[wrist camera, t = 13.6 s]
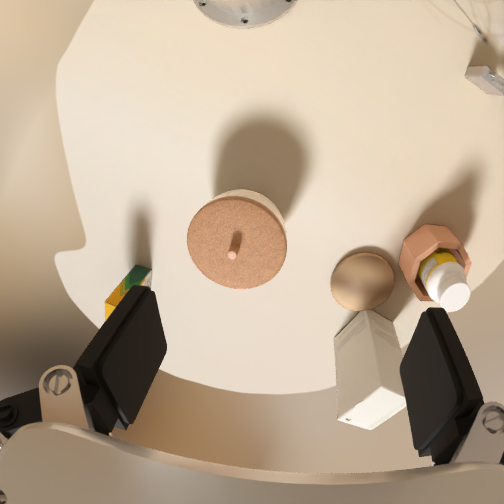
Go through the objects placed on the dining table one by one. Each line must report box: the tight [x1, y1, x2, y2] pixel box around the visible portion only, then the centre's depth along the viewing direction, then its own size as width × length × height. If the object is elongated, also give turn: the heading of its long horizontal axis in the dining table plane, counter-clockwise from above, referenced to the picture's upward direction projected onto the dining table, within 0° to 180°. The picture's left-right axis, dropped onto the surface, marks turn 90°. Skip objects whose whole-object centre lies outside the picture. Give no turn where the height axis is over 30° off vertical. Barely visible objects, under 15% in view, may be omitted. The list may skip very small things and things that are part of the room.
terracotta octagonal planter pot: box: [399, 224, 471, 301], centre depth 35 cm, size 9×9×5 cm
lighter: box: [465, 66, 504, 96], centre depth 22 cm, size 7×2×8 cm, turn 71°
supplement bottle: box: [417, 248, 470, 312], centre depth 33 cm, size 5×5×10 cm
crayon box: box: [105, 265, 152, 320], centre depth 42 cm, size 7×3×12 cm, turn 164°
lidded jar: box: [187, 189, 287, 289], centre depth 35 cm, size 11×11×9 cm
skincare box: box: [334, 309, 407, 430], centre depth 38 cm, size 8×7×16 cm
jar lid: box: [330, 253, 394, 311], centre depth 41 cm, size 9×9×1 cm
